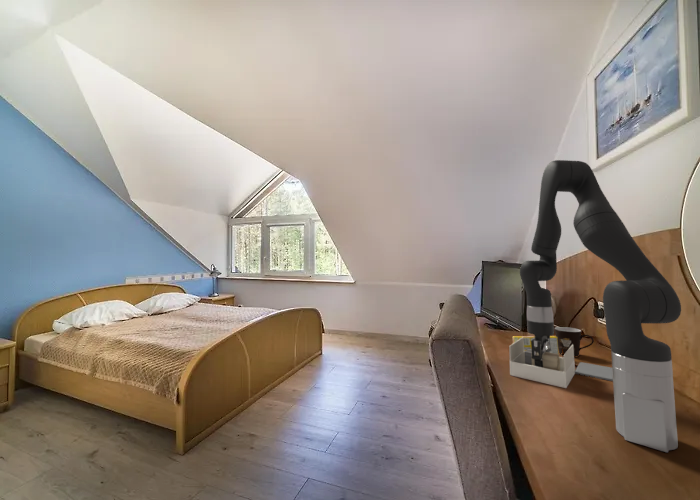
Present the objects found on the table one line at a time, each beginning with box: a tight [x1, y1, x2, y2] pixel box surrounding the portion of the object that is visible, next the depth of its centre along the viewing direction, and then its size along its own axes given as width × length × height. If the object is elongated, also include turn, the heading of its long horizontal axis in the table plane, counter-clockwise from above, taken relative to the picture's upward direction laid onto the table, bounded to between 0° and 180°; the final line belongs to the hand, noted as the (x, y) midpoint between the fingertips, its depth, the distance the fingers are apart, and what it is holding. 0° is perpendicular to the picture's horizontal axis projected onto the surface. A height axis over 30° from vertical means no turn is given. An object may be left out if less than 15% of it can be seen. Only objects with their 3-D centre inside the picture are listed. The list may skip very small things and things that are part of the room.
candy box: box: [512, 335, 560, 355], centre depth 114 cm, size 16×2×8 cm, turn 84°
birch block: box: [525, 349, 560, 371], centre depth 97 cm, size 4×9×7 cm, turn 45°
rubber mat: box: [574, 361, 613, 382], centre depth 97 cm, size 13×13×1 cm
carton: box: [508, 337, 576, 389], centre depth 97 cm, size 16×15×10 cm
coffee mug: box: [554, 326, 595, 356], centre depth 115 cm, size 12×9×10 cm
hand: (542, 368), depth 97 cm, fingers open, 8 cm apart
